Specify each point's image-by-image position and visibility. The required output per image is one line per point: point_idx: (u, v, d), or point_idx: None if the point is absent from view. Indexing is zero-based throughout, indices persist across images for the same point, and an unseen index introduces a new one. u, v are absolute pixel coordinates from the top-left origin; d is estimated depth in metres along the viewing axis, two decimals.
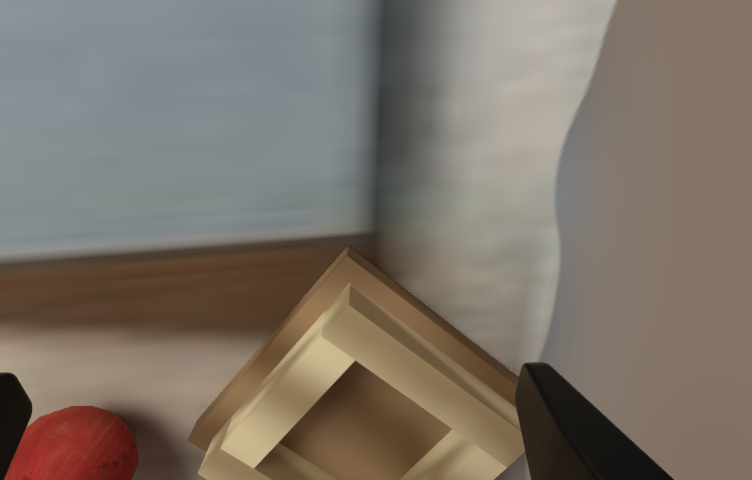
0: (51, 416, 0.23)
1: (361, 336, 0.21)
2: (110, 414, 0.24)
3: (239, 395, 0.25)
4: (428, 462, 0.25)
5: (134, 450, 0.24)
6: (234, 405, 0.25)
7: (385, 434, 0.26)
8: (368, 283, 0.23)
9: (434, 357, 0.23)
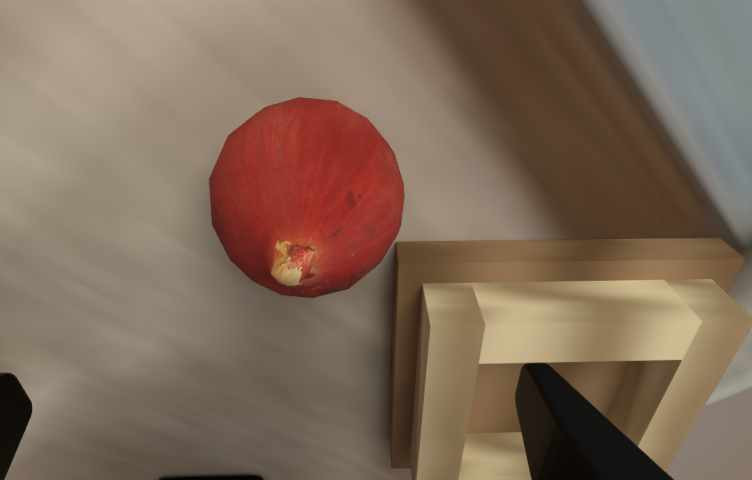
0: (368, 121, 0.13)
1: (716, 348, 0.18)
2: None
3: (501, 273, 0.19)
4: None
5: None
6: (484, 276, 0.19)
7: None
8: None
9: None
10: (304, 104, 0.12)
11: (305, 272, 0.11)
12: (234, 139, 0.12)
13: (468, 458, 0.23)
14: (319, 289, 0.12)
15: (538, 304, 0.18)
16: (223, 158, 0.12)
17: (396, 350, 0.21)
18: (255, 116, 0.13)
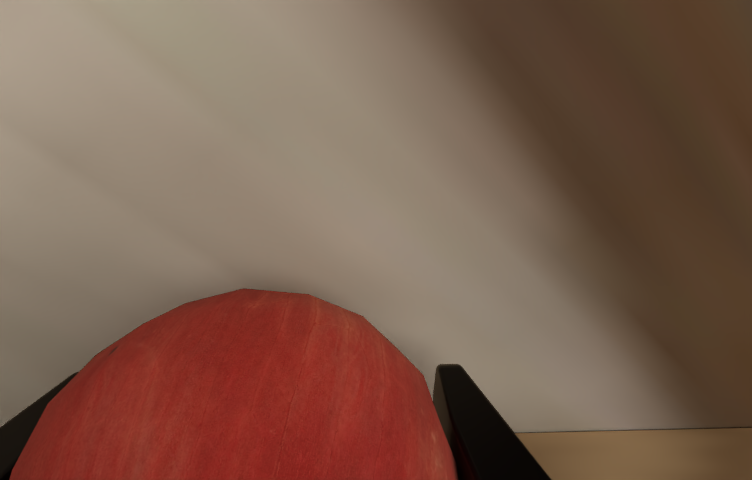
0: (382, 365, 0.06)
1: None
2: None
3: None
4: None
5: None
6: None
7: None
8: None
9: None
10: (221, 358, 0.05)
11: None
12: (36, 455, 0.05)
13: None
14: None
15: None
16: None
17: None
18: (96, 387, 0.05)
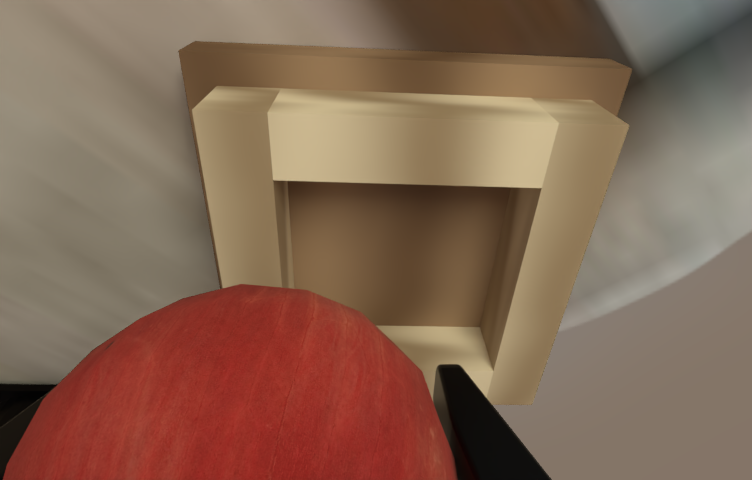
0: (380, 360, 0.06)
1: (584, 171, 0.14)
2: None
3: (318, 75, 0.14)
4: (403, 336, 0.19)
5: None
6: (296, 79, 0.14)
7: (396, 275, 0.19)
8: None
9: None
10: (217, 352, 0.05)
11: None
12: (30, 450, 0.05)
13: None
14: None
15: (353, 103, 0.13)
16: None
17: (205, 193, 0.16)
18: (91, 381, 0.05)
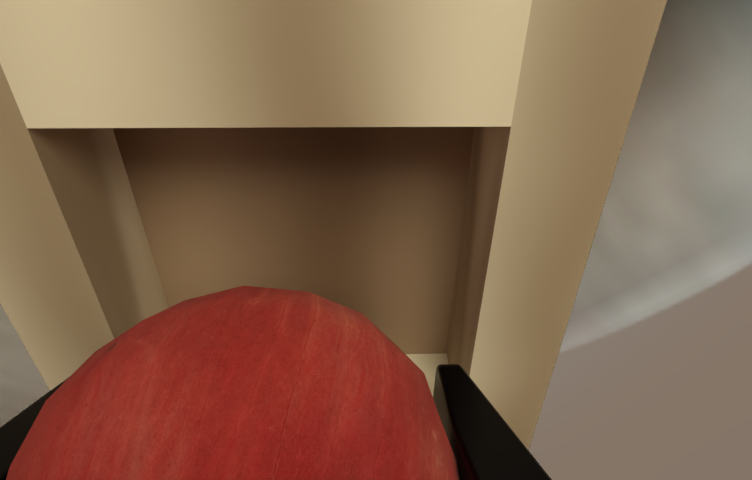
0: (382, 362, 0.06)
1: (585, 92, 0.07)
2: None
3: None
4: None
5: None
6: None
7: (315, 284, 0.13)
8: None
9: None
10: (220, 355, 0.05)
11: None
12: (33, 452, 0.05)
13: None
14: None
15: None
16: None
17: None
18: (93, 384, 0.05)
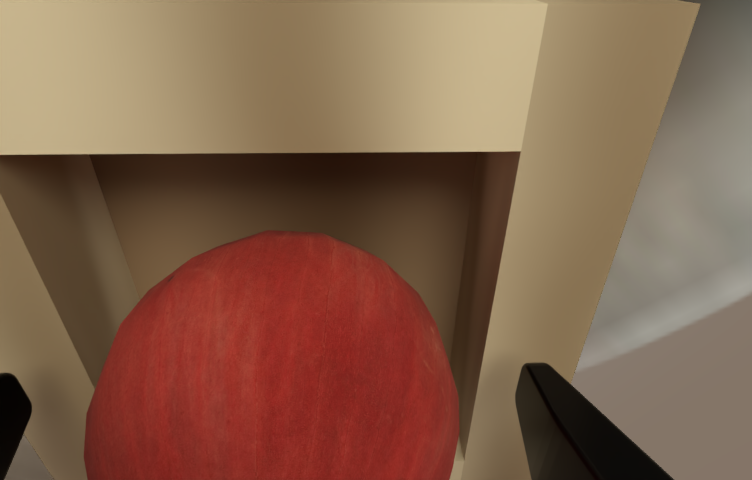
0: (389, 276, 0.07)
1: (604, 114, 0.07)
2: None
3: None
4: None
5: None
6: None
7: None
8: None
9: None
10: (268, 269, 0.06)
11: None
12: (126, 354, 0.06)
13: None
14: None
15: None
16: (103, 400, 0.06)
17: None
18: (169, 299, 0.06)
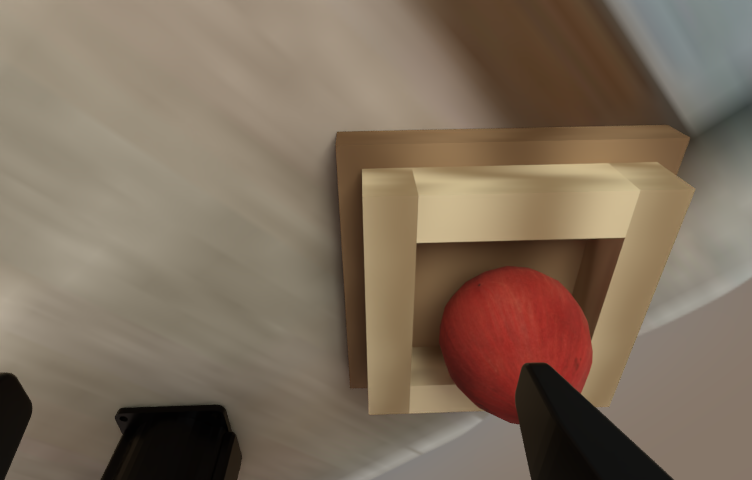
0: (564, 287, 0.18)
1: (658, 224, 0.17)
2: None
3: (441, 156, 0.18)
4: None
5: None
6: (424, 160, 0.18)
7: None
8: None
9: None
10: (525, 283, 0.17)
11: None
12: (476, 311, 0.17)
13: (422, 368, 0.23)
14: None
15: (476, 181, 0.17)
16: (470, 327, 0.17)
17: (342, 248, 0.20)
18: (489, 292, 0.17)
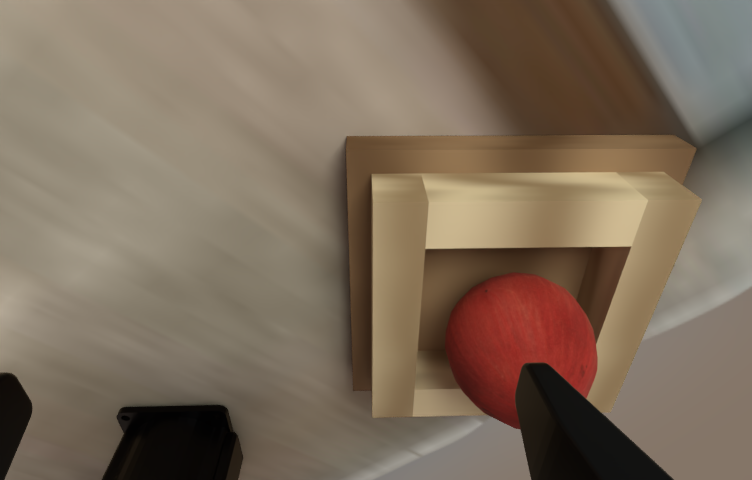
0: (570, 295, 0.18)
1: (665, 233, 0.17)
2: None
3: (451, 162, 0.18)
4: None
5: None
6: (433, 166, 0.18)
7: None
8: None
9: None
10: (532, 290, 0.17)
11: None
12: (483, 317, 0.17)
13: (426, 371, 0.23)
14: None
15: (485, 188, 0.17)
16: (477, 333, 0.17)
17: (349, 252, 0.21)
18: (496, 299, 0.17)
